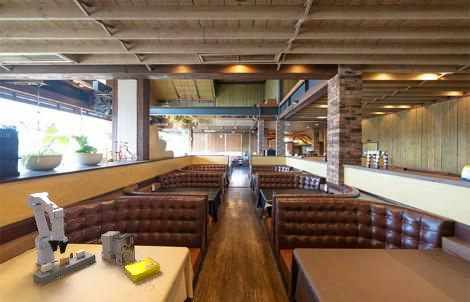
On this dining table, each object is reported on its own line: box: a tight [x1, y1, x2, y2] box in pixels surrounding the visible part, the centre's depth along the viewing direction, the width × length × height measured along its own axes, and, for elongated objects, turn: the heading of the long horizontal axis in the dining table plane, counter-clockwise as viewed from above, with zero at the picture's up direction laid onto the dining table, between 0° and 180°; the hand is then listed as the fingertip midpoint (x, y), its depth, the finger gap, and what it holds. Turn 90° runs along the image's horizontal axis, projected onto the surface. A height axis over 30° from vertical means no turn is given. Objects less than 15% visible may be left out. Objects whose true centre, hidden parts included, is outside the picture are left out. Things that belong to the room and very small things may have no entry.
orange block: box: [59, 255, 70, 265], centre depth 137 cm, size 2×4×3 cm, turn 154°
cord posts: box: [43, 252, 74, 265], centre depth 139 cm, size 2×16×5 cm, turn 154°
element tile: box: [124, 256, 161, 283], centre depth 131 cm, size 15×15×5 cm
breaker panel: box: [33, 251, 97, 286], centre depth 136 cm, size 9×28×4 cm, turn 154°
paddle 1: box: [40, 263, 53, 272], centre depth 129 cm, size 2×4×3 cm, turn 154°
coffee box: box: [115, 232, 136, 267], centre depth 145 cm, size 9×6×16 cm
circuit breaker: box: [100, 230, 121, 260], centre depth 152 cm, size 8×14×15 cm, turn 78°
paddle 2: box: [75, 249, 86, 258], centre depth 145 cm, size 2×4×3 cm, turn 154°
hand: (58, 252), depth 139 cm, fingers open, 7 cm apart
